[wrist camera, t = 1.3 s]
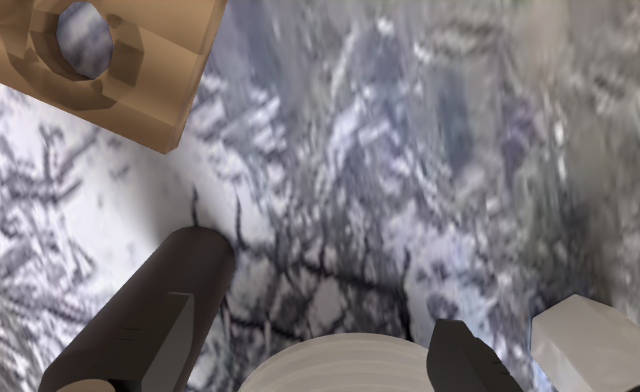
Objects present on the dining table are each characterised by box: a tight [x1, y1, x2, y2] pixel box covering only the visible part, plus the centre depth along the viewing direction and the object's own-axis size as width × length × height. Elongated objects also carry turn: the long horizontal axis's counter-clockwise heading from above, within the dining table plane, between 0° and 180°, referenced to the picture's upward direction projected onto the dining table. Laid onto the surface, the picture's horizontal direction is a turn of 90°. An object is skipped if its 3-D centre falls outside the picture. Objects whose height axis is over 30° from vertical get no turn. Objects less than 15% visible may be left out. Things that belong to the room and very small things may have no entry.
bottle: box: [38, 226, 235, 392], centre depth 23 cm, size 7×7×20 cm
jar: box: [530, 294, 640, 392], centre depth 29 cm, size 9×8×12 cm
